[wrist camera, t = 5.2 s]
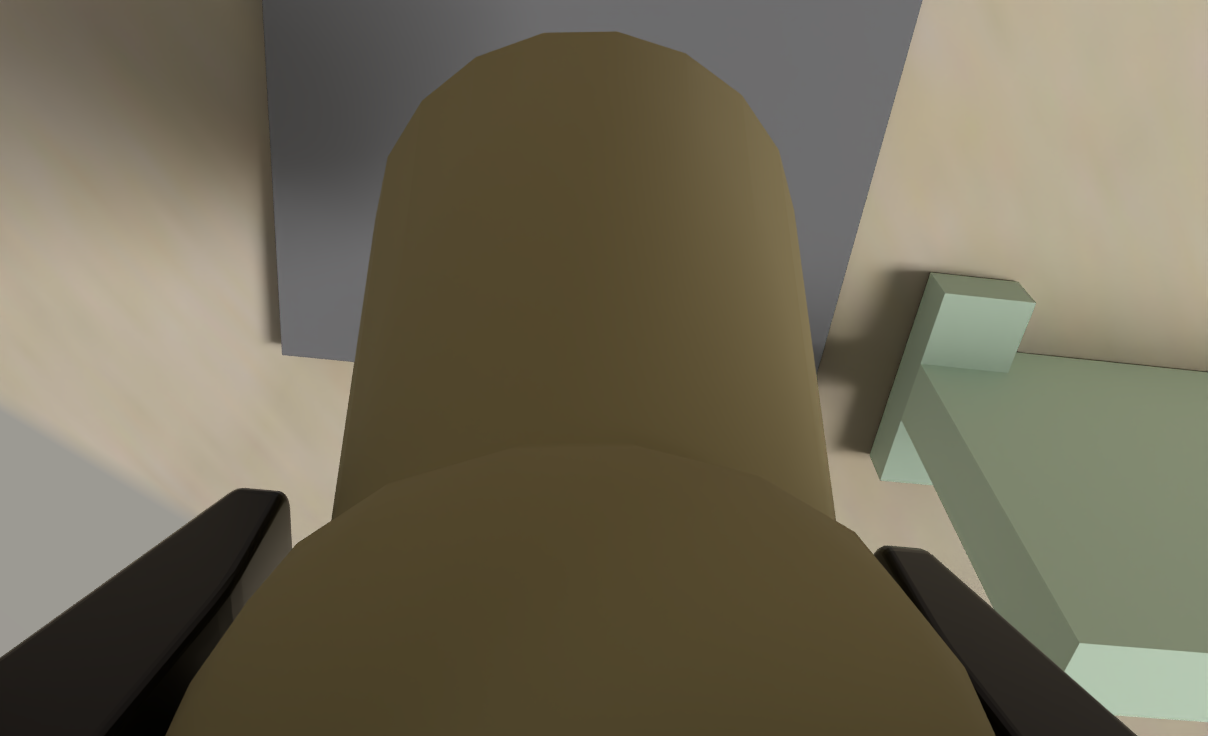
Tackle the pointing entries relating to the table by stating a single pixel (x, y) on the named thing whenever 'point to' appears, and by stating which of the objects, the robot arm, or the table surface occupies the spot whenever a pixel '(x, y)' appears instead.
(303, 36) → the mat
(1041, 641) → the screen
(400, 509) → the olive bulbous piece
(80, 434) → the table surface
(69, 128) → the table surface
